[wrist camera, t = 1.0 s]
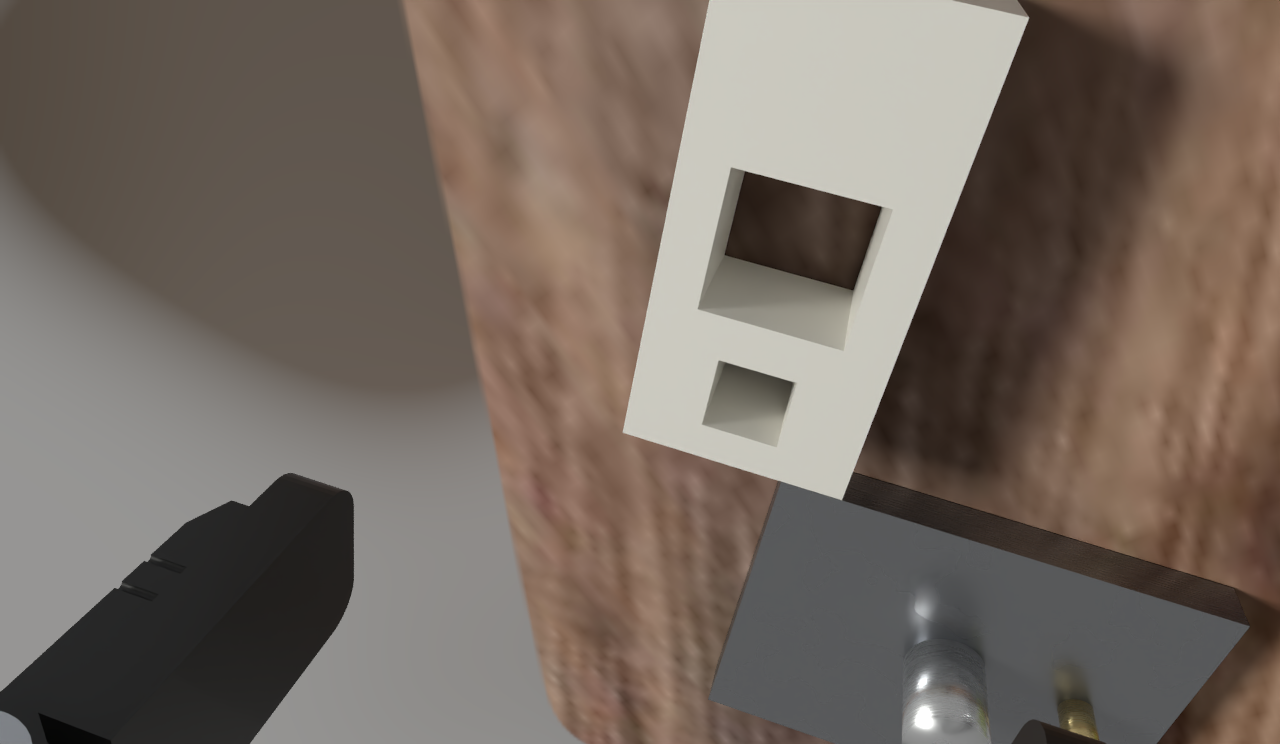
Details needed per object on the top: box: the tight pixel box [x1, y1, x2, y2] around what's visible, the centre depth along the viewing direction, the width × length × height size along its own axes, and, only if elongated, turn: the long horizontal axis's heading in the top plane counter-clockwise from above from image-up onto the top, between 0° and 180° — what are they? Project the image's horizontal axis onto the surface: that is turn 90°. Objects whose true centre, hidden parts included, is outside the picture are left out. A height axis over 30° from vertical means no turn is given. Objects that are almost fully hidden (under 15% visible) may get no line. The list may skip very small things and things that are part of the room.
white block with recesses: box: [623, 0, 1029, 500], centre depth 22 cm, size 12×6×4 cm, turn 168°
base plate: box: [709, 473, 1250, 744], centre depth 27 cm, size 13×10×4 cm
